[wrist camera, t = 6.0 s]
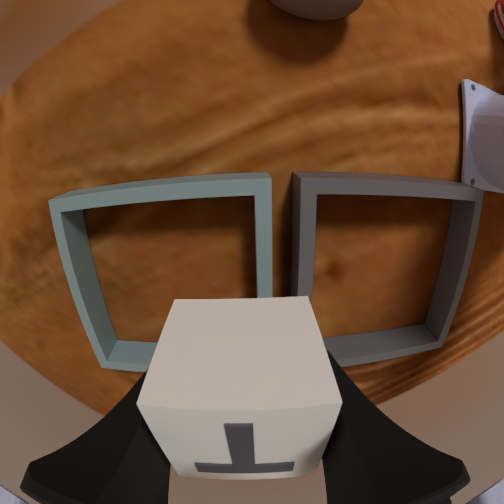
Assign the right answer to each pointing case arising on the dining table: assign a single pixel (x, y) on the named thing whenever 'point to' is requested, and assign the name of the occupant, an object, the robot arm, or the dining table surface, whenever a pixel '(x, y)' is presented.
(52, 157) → the dining table surface
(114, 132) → the dining table surface
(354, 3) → the egg
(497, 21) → the beverage can
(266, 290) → the teal square frame
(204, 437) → the letter cube
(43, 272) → the dining table surface
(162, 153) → the dining table surface
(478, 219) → the tray charcoal
